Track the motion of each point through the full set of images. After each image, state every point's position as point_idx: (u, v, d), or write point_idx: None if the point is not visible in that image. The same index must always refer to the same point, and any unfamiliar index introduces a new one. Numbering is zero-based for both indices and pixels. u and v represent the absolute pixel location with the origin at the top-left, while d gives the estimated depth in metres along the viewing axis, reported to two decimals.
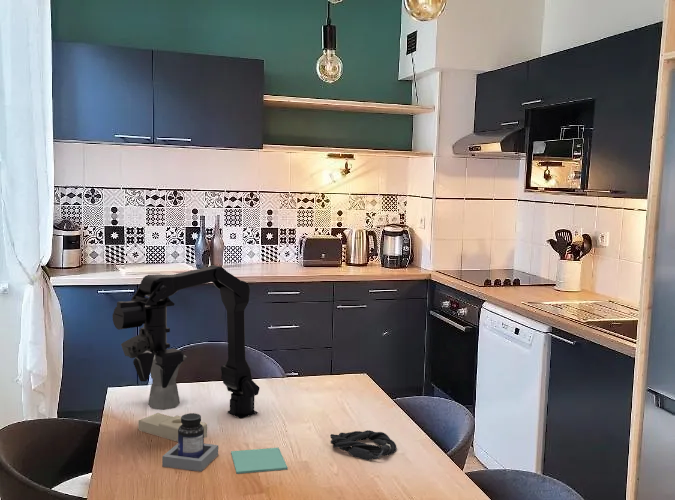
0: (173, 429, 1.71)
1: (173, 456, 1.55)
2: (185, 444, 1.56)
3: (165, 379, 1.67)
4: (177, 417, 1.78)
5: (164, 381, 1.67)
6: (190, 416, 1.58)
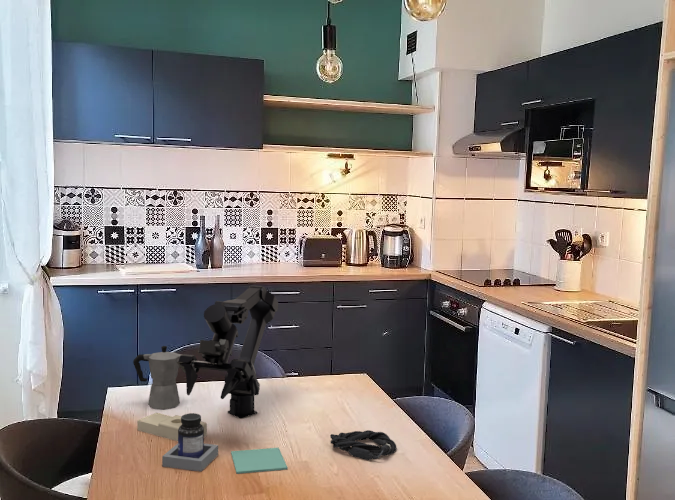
0: (173, 429, 1.71)
1: (173, 456, 1.55)
2: (185, 444, 1.56)
3: (227, 389, 1.66)
4: (177, 417, 1.78)
5: (226, 391, 1.66)
6: (190, 416, 1.58)
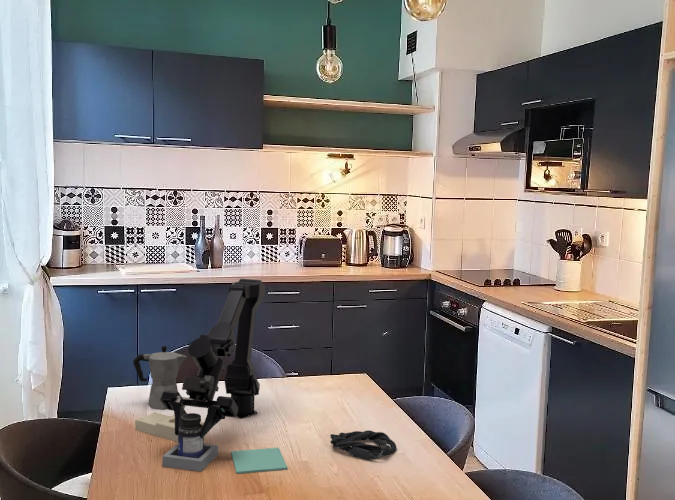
0: (170, 428, 1.72)
1: (173, 456, 1.55)
2: (185, 444, 1.56)
3: (207, 428, 1.58)
4: (174, 417, 1.78)
5: (205, 430, 1.57)
6: (190, 416, 1.58)
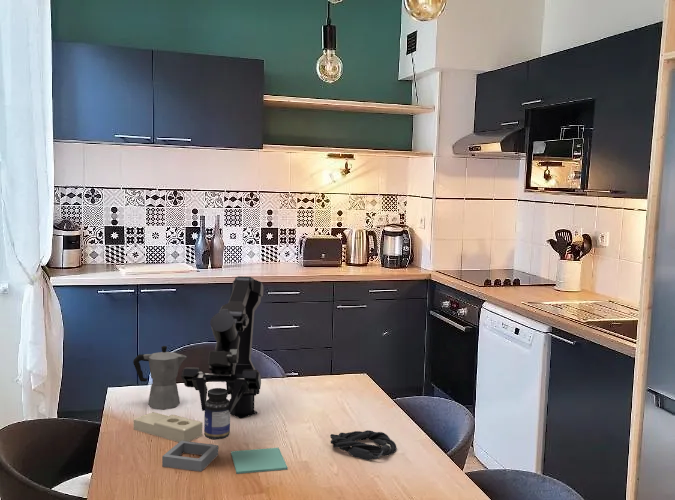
0: (168, 428, 1.72)
1: (173, 456, 1.55)
2: (214, 418, 1.55)
3: (234, 401, 1.57)
4: (172, 416, 1.78)
5: (233, 403, 1.57)
6: (217, 391, 1.57)
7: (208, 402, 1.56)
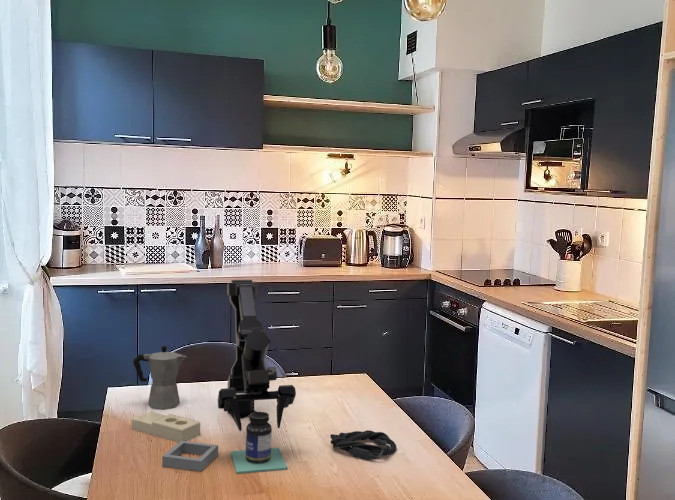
0: (166, 427, 1.72)
1: (173, 456, 1.55)
2: (260, 442, 1.57)
3: (281, 417, 1.61)
4: (170, 416, 1.79)
5: None
6: (259, 415, 1.59)
7: (252, 427, 1.57)
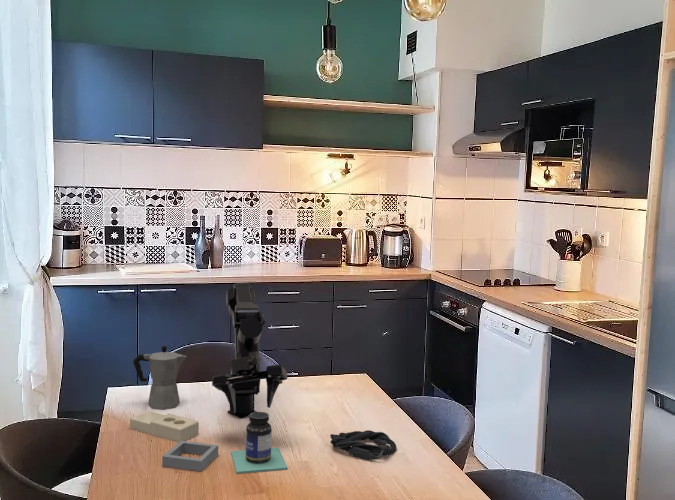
0: (165, 427, 1.72)
1: (173, 456, 1.55)
2: (260, 442, 1.57)
3: (271, 397, 1.68)
4: (169, 415, 1.79)
5: (270, 399, 1.68)
6: (259, 415, 1.59)
7: (252, 427, 1.57)
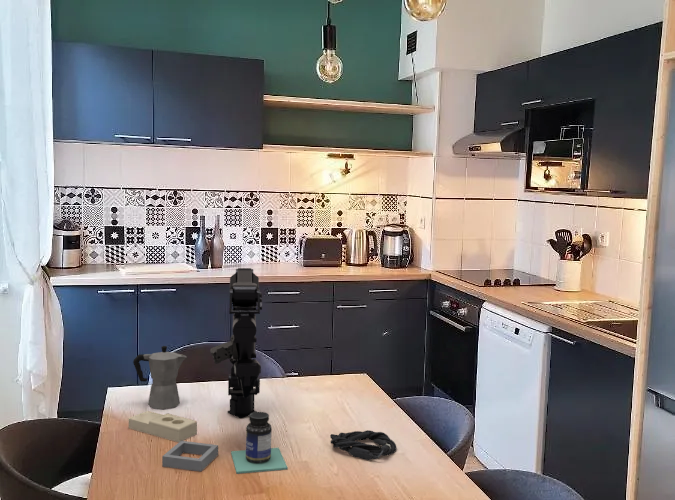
0: (163, 427, 1.73)
1: (173, 456, 1.55)
2: (260, 442, 1.57)
3: (245, 389, 1.66)
4: (167, 415, 1.79)
5: (244, 391, 1.66)
6: (259, 415, 1.59)
7: (252, 427, 1.57)
